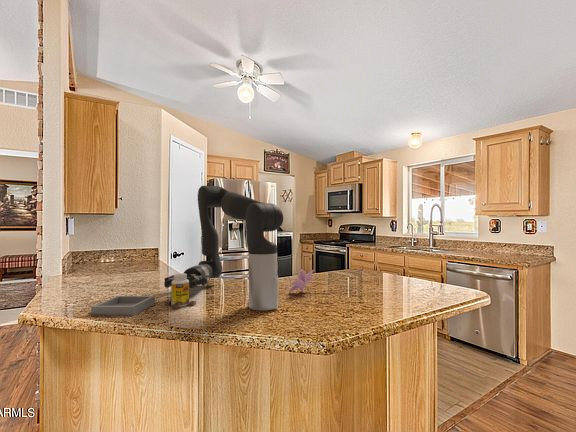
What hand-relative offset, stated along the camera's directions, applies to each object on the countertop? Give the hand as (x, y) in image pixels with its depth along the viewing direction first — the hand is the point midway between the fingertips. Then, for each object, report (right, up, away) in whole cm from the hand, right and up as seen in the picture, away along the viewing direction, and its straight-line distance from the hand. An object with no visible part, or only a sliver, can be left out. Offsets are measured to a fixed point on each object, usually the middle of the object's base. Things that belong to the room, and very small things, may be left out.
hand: (178, 284), depth 101 cm
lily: (+42, -7, +15) cm, 45 cm away
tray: (-16, -7, -3) cm, 18 cm away
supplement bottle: (0, -7, +1) cm, 7 cm away
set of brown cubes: (0, -7, +1) cm, 7 cm away
